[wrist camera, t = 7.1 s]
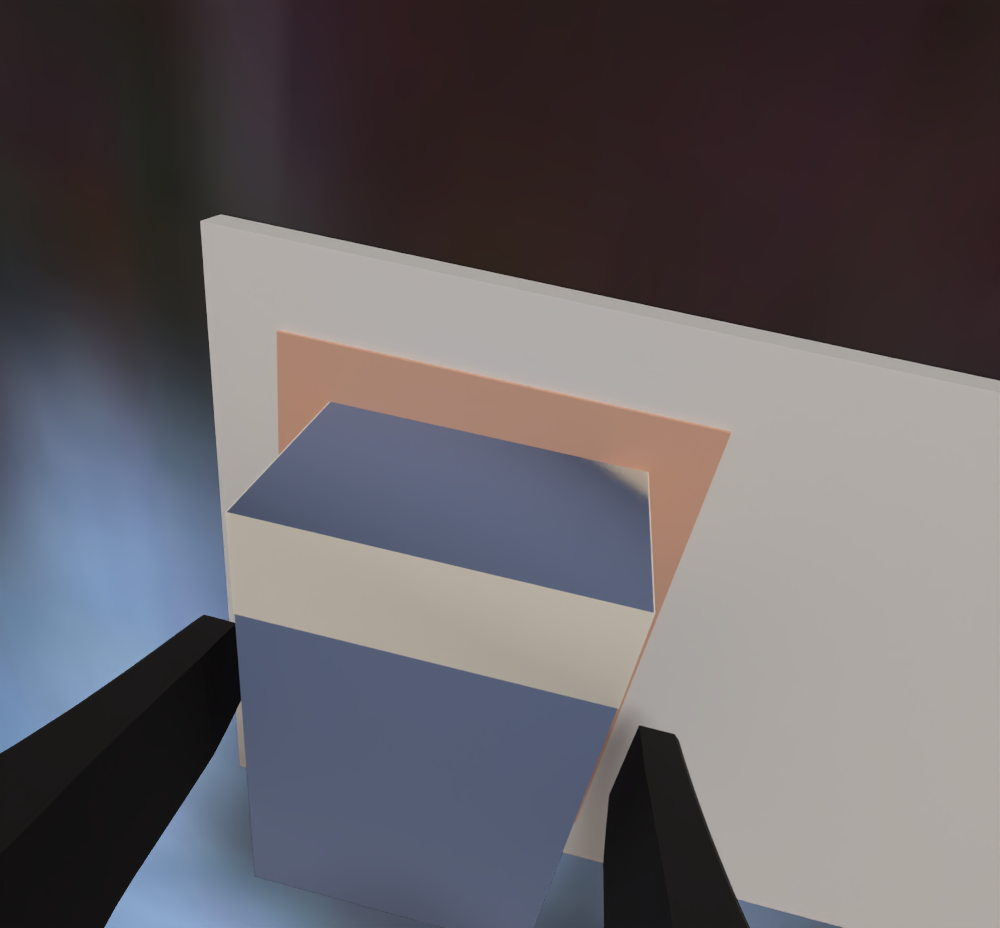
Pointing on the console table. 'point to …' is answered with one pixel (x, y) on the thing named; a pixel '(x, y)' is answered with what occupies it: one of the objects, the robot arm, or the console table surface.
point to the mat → (702, 544)
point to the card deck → (431, 659)
